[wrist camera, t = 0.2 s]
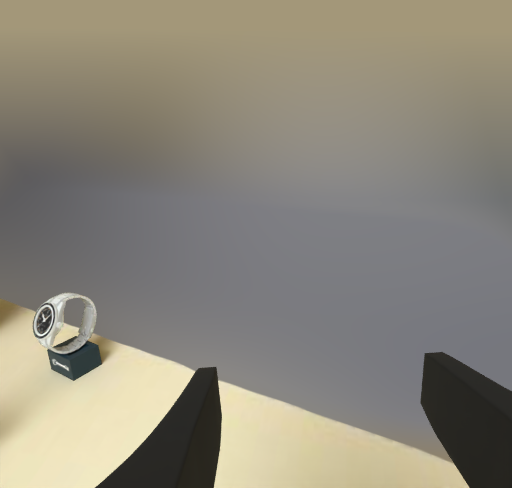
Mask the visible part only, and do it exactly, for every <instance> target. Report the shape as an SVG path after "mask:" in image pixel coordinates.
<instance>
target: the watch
mask: <svg viewBox="0 0 512 488" xmlns="http://www.w3.org/2000/svg"><path fill="white" fill-rule="evenodd" d="M72 298H80V299H81V300H82V301H83V302H84V304H85V311H84V314H83V320H82V324H81V327H80V329H79V333H80V334H79V335H78V337H77V336H75V337H73V338H71V339H69V340H67V341H65V342H63V343H61V344H58V345H56V346H54V347H52V346H51V345H53V342H54V338H55V336H56V335H57V334H58V333H59V331H60V330H61V328H62V327H63V320H64V312H63V311H64V308H65V306H66V302H65V301H67V300H68V299H72ZM96 317H97V312H96V309H95V305H94V304H93V302H92V301H91V300H90V299H89V298H87V297H85V296H81V295H78V294H75V293H63V294H60V295H57V296H55V297H53V298H51V299H50V300H48V302H46V303H44V304H42V305H41V306H40V307H39V309H38V310H37V312H36V314H35V317H34V321H33V332H34V335H35V337H36V338H37V340H38V341H39V343H40V344H41V345H42V346H44V347H45V348H47V349H48V350H47V351H48V356H49V360H50V364H51V369H52V370H54V371H56V372H58V373H60V374H62V375H64V376H66V377H68V378H69V379H71V380H73V381H74V380H76V379H77V378H79V377H81V376H82V375H84V374H86V373H87V372H89V371H91V370H93V369H94V368H96V367H98V366H99V365H101V364H102V363H101V358H100V353H99V347H98V345H96V344H94V343H92V342H89V341H87V340H88V338H91V335H92V333H93V330H94V327H95V323H96Z"/></svg>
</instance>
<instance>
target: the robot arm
mask: <svg viewBox="0 0 512 488" xmlns="http://www.w3.org/2000/svg"><path fill="white" fill-rule="evenodd" d="M421 405H422V407H423V409H424V411H425V413H426V416H427V418H428V420H429V422H430V424H431V426H432V428H433V430H434V432H435V434H436V435H437V437H438V439H439V440H440V442H441V443H442V445H443V446H444V448H445V450H446V451H447V453H448V455H449V456H450V458H451V459H452V461H453V462H454V464H455V466H456V467H457V469H458V470H459V472H460V473H461V475H462V476H463V478H464V480H465V481H466V483H467V484H468V486H469V487H470V488H512V391H510V390H508V389H506V388H504V387H502V386H501V385H499V384H497V383H496V382H494V381H492V380H490V379H489V378H487V377H485V376H484V375H482V374H480V373H479V372H477V371H475V370H473V369H472V368H470V367H468V366H467V365H465V364H463V363H461V362H460V361H458V360H456V359H454V358H453V357H451V356H449V355H447V354H445V353H443V352H438V353H425V357H424V368H423V381H422V392H421ZM221 422H222V413H221V404H220V395H219V386H218V377H217V369H216V367H209V368H199V369H198V370H197V371H196V372H195V374H194V375H193V377H192V378H191V380H190V382H189V383H188V385H187V386H186V388H185V389H184V391H183V392H182V394H181V395H180V397H179V398H178V399H177V401H176V402H175V404H174V405H173V406H172V408H171V409H170V410H169V412H168V413H167V414H166V416H165V417H164V418H163V419H162V421H161V422H160V423H159V424H158V426H157V427H156V428H155V429H154V430H153V432H152V433H151V434H150V435H149V436H148V437H147V439H146V440H145V441H144V442H143V443H142V444H141V445H140V446H139V447H138V448H137V449H136V450H135V451H134V452H133V453H132V455H131V456H130V457H129V458H128V459H126V460H125V461H124V462H123V463H122V464H121V465H120V466H119V467H118V468H117V469H116V470H115V471H113V472H112V473H111V474H110V475H109V476H108V477H107V478H106V479H105V480H104V481H102V482H101V483H100V484H99V485H98V486H96V487H95V488H214V482H215V476H216V470H217V463H218V457H219V451H220V442H221Z"/></svg>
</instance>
